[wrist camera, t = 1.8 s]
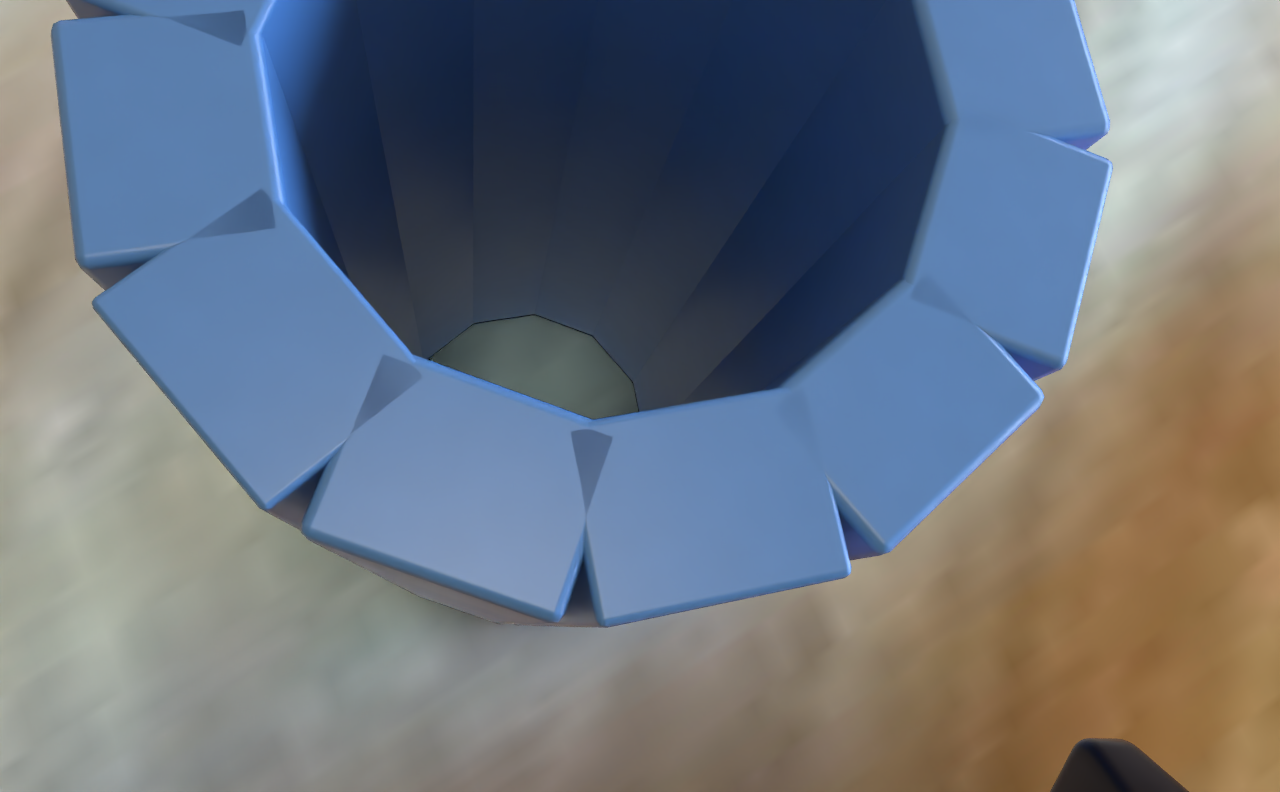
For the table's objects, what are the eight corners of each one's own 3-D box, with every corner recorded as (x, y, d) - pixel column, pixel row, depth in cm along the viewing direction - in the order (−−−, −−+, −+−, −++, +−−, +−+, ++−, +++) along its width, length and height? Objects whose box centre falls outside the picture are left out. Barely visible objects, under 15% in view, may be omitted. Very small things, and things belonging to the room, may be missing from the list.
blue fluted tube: (638, 671, 20) (974, 770, 7) (273, 546, 20) (-166, 375, 6) (749, 329, 22) (1191, -142, 8) (416, 205, 21) (321, -509, 8)
